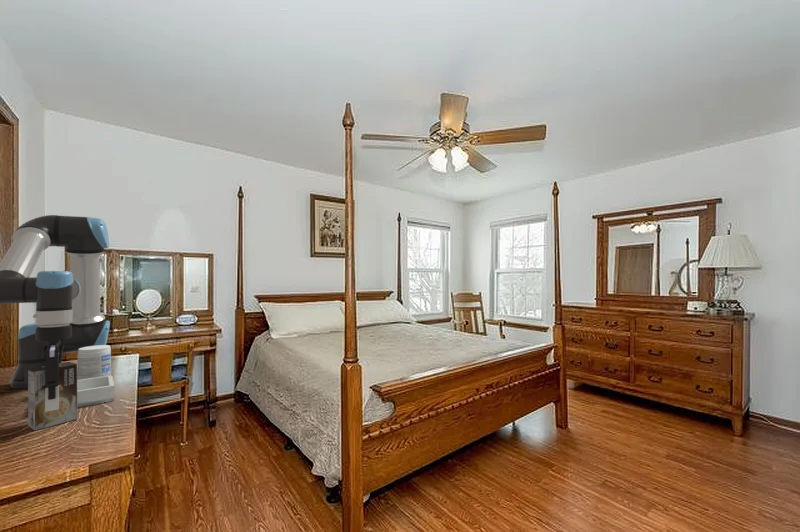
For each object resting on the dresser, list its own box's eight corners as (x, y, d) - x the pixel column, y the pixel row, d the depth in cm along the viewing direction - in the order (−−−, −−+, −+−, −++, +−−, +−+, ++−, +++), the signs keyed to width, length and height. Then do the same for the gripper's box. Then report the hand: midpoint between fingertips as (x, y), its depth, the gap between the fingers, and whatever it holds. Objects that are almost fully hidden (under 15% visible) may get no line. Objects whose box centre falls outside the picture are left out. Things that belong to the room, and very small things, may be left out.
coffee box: (69, 414, 108) (70, 360, 108) (77, 419, 105) (78, 363, 105) (26, 425, 100) (27, 367, 101) (33, 431, 97) (34, 371, 97)
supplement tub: (108, 388, 133) (109, 348, 133) (74, 393, 128) (75, 351, 128) (111, 381, 141) (112, 343, 141) (79, 385, 136) (80, 346, 136)
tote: (51, 398, 122) (51, 383, 122) (112, 388, 132) (112, 375, 132) (46, 412, 110) (47, 396, 110) (114, 400, 120) (114, 385, 120)
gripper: (39, 322, 108) (38, 399, 108) (30, 331, 93) (29, 421, 93) (73, 320, 113) (72, 393, 113) (70, 328, 98) (69, 413, 97)
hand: (53, 405), depth 103 cm, fingers closed on coffee box, 7 cm apart
